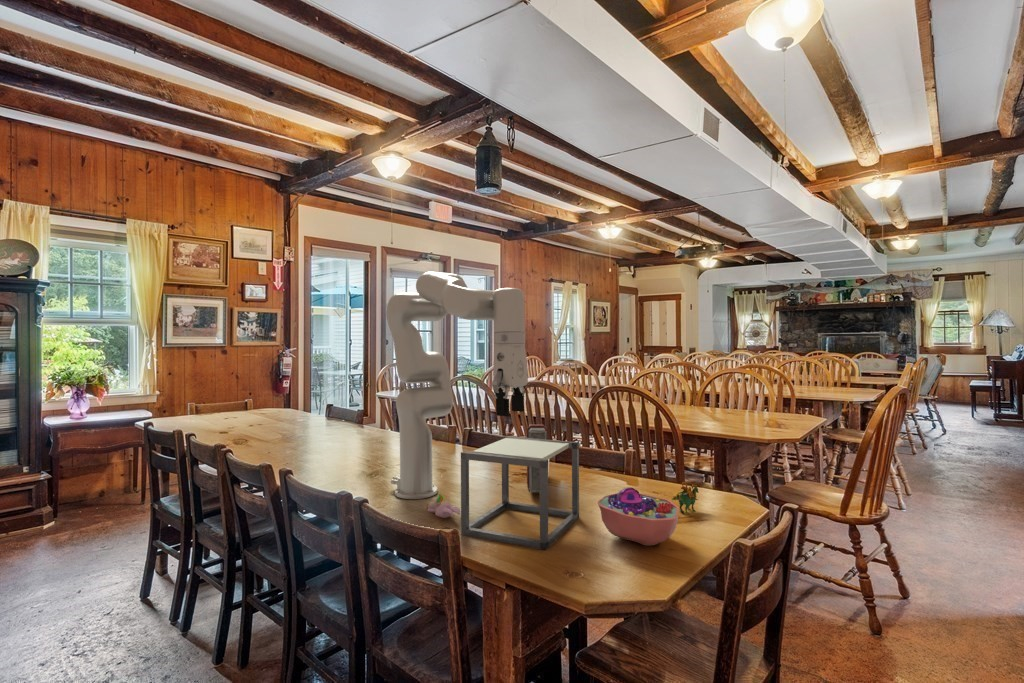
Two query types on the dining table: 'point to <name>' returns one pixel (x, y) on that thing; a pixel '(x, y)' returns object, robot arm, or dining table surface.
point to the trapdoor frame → (543, 509)
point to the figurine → (687, 497)
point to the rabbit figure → (442, 508)
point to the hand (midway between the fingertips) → (510, 413)
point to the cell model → (639, 516)
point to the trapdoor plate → (524, 448)
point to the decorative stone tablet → (534, 472)
